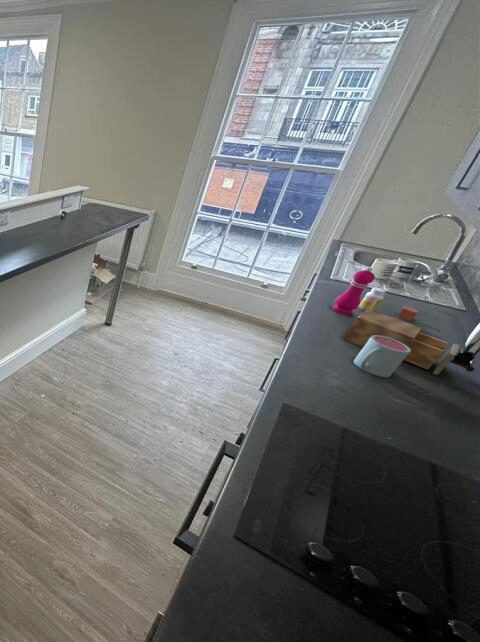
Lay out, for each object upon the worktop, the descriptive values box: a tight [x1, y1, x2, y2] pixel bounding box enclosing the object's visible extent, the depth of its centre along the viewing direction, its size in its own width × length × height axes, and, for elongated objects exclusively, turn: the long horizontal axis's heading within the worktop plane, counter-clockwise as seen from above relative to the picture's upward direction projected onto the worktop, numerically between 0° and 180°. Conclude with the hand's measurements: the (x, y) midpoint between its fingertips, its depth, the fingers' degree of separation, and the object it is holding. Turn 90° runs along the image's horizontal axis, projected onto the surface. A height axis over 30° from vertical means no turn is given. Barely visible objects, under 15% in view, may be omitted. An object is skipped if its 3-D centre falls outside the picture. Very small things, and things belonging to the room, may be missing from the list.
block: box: [396, 305, 420, 322], centre depth 162 cm, size 4×4×4 cm
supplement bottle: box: [358, 287, 387, 312], centre depth 164 cm, size 5×5×10 cm
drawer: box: [403, 331, 478, 376], centre depth 130 cm, size 19×11×8 cm, turn 36°
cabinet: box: [343, 309, 422, 348], centre depth 139 cm, size 15×13×10 cm
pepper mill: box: [331, 266, 376, 316], centre depth 158 cm, size 7×7×20 cm
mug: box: [353, 335, 411, 378], centre depth 124 cm, size 14×9×10 cm
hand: (458, 364), depth 126 cm, fingers closed
